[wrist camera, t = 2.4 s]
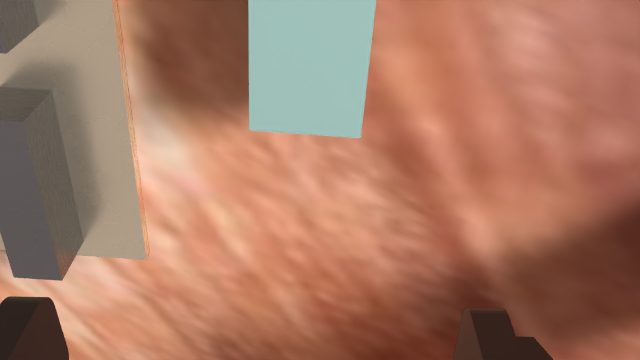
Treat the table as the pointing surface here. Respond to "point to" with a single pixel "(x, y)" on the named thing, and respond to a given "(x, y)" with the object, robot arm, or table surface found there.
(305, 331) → the table surface
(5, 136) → the rail
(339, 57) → the pale aqua block
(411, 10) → the table surface
